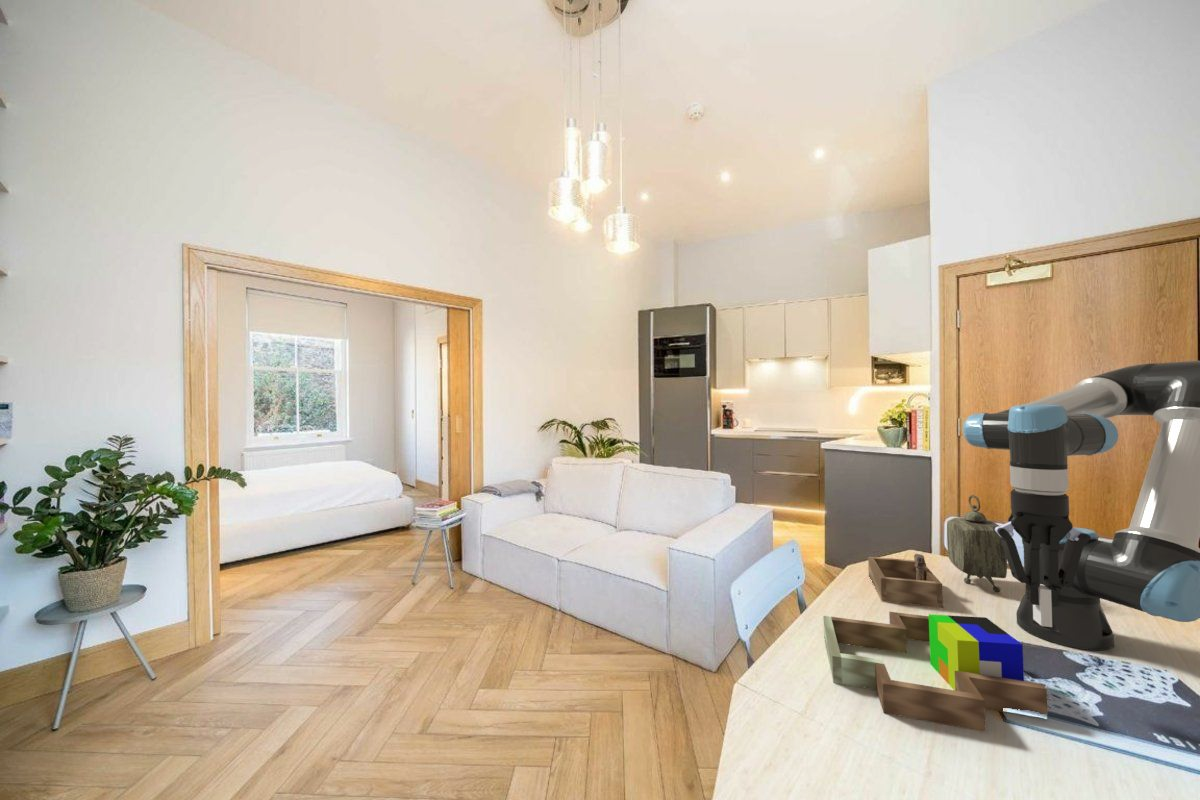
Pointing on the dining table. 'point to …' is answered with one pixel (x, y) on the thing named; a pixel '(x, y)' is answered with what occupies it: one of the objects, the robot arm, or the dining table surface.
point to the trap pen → (916, 699)
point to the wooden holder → (904, 582)
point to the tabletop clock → (976, 546)
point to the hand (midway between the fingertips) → (1042, 623)
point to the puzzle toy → (973, 648)
